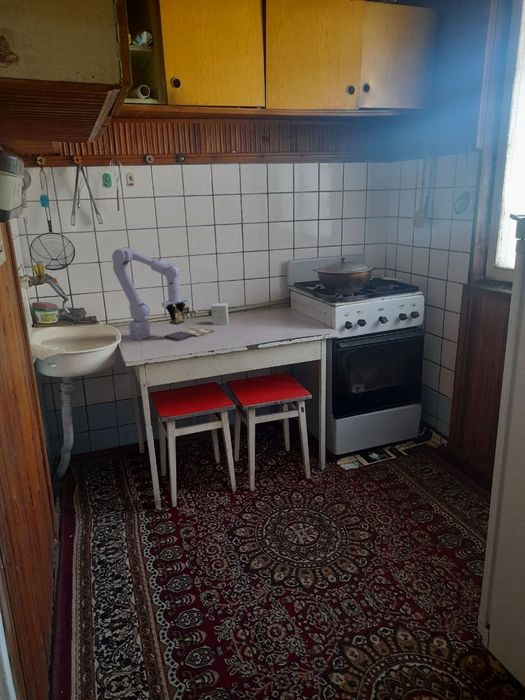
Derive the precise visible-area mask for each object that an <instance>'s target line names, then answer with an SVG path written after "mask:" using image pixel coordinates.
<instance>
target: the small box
mask: <svg viewBox="0 0 525 700" xmlns="http://www.w3.org/2000/svg"><path fill="white" fill-rule="evenodd" d="M210 308H211V317H212V318H211V320H212V325H213V326H215V325H216V326H217V324H218V326H219V324H226V325H228V324H229V320H230V319H229V306H228V303H223V302H221V303H212V304H211V307H210Z"/></svg>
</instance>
